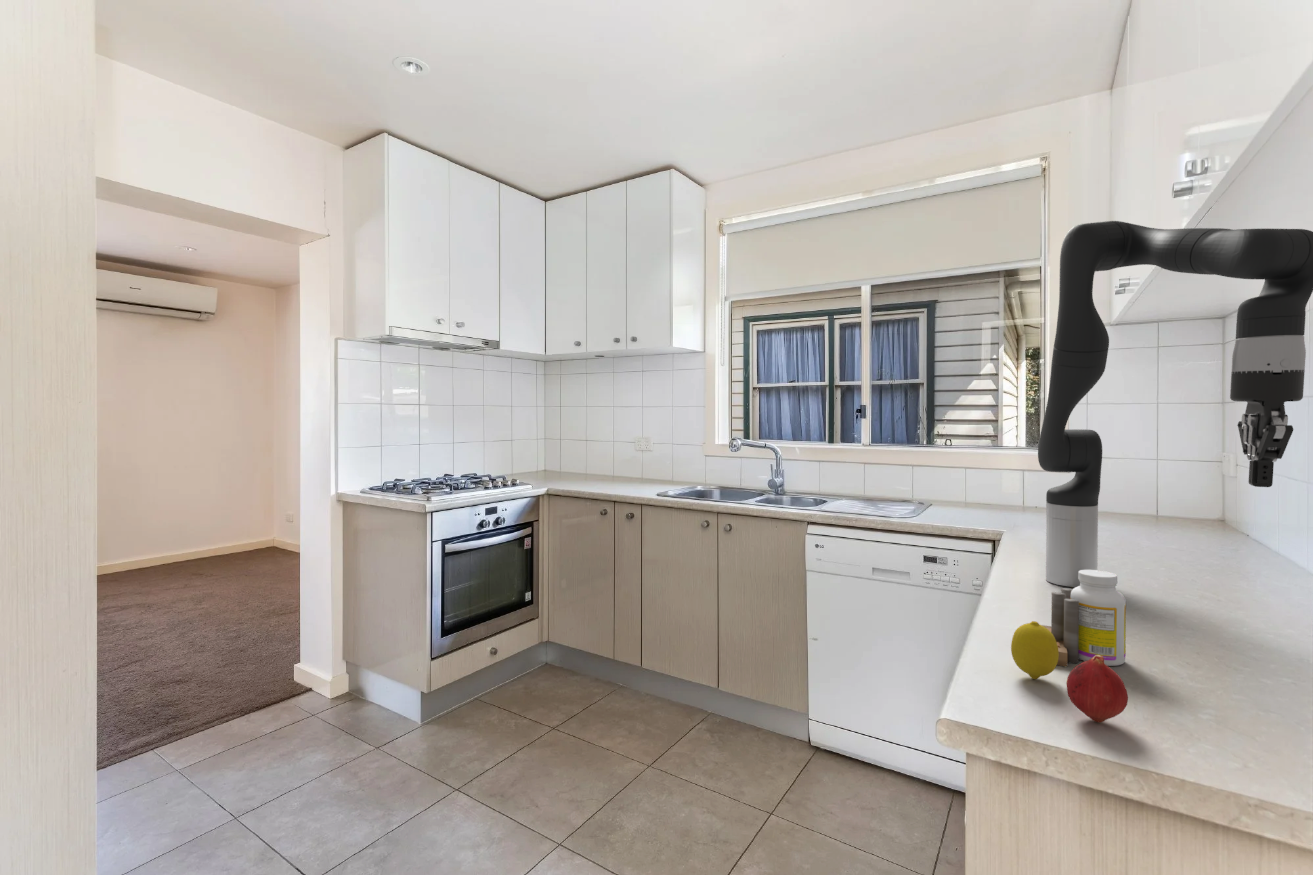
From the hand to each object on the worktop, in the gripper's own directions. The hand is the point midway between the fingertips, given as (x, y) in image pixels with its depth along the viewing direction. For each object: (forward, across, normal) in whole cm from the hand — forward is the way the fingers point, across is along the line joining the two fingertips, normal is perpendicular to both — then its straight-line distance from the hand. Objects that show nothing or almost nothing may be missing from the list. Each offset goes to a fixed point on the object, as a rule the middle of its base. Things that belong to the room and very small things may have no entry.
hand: (1260, 486), depth 89 cm
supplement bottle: (+26, +13, -20) cm, 35 cm away
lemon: (+25, +26, -29) cm, 46 cm away
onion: (+25, +36, -23) cm, 49 cm away
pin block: (+26, +13, -27) cm, 39 cm away
